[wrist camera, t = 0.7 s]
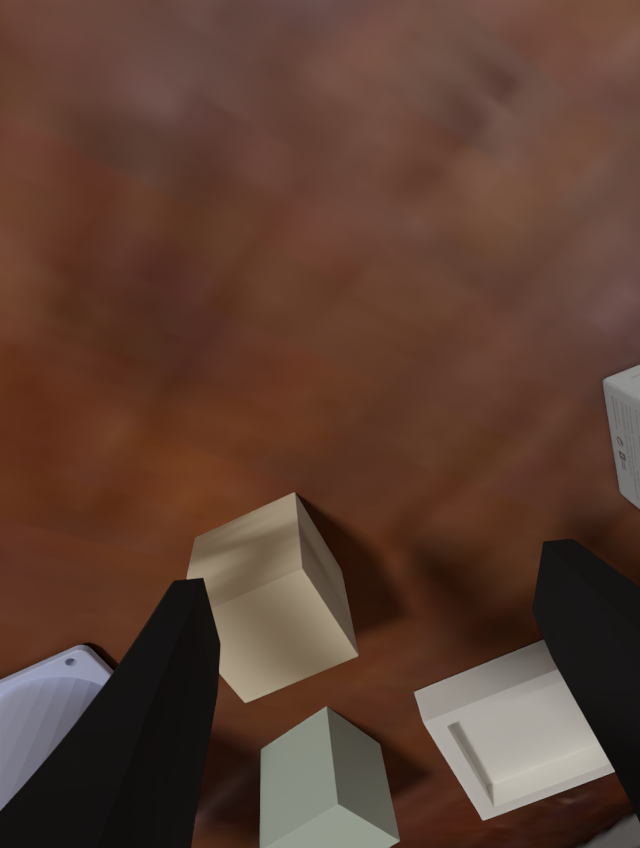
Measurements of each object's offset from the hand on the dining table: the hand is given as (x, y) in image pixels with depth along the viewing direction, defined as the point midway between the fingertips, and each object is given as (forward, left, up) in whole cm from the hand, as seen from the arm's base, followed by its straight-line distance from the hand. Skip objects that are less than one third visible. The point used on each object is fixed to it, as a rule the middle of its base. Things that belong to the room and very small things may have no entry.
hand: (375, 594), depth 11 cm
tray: (+3, -24, -11) cm, 26 cm away
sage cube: (-9, -20, -11) cm, 24 cm away
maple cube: (-5, -6, -11) cm, 13 cm away
